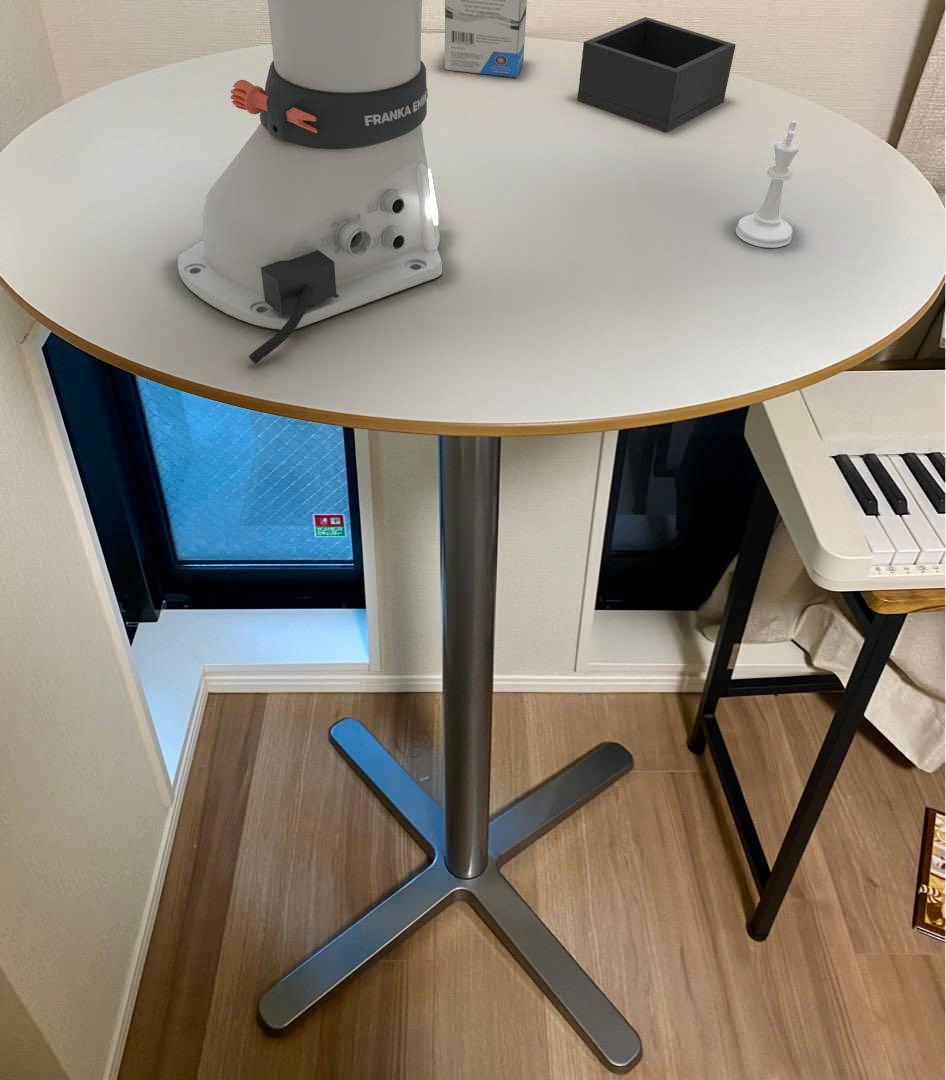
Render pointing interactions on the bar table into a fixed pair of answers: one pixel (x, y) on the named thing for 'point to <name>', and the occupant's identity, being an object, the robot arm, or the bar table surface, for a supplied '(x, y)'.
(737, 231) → the chess piece
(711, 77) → the bin
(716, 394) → the bar table surface
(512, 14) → the ink box
